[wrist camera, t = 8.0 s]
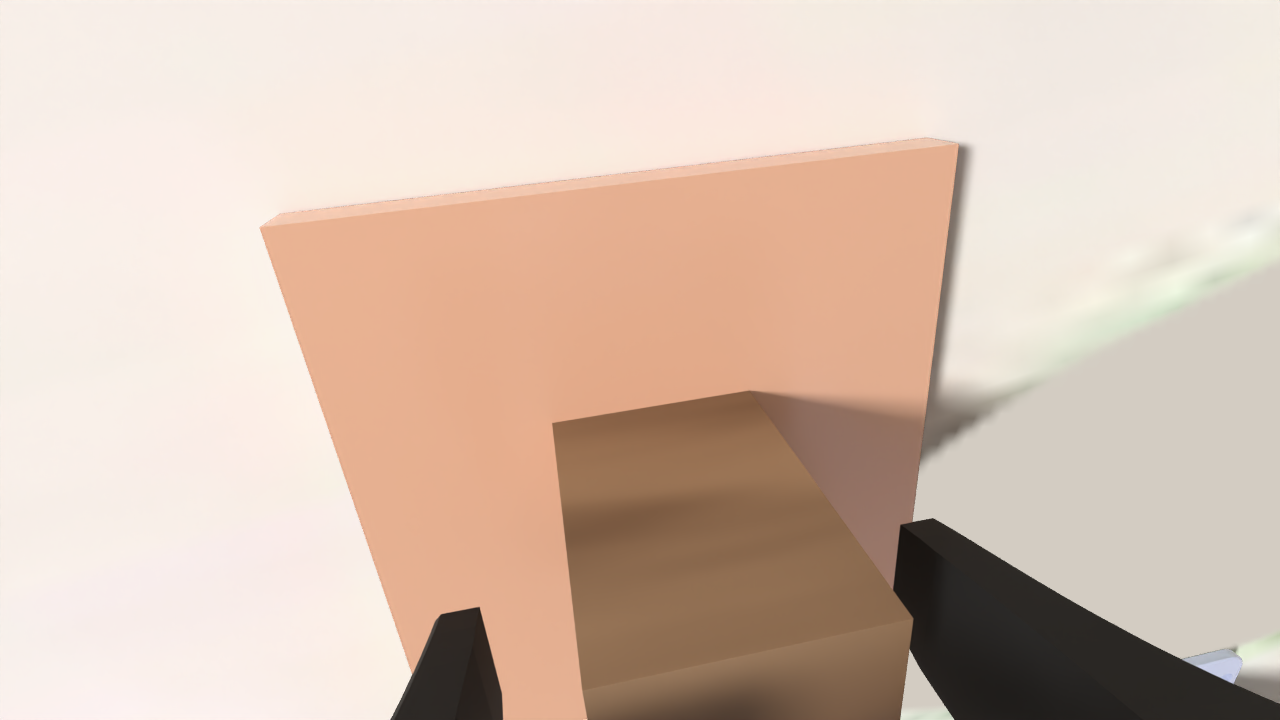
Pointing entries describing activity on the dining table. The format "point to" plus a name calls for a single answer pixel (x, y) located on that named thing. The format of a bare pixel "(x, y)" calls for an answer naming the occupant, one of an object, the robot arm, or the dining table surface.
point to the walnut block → (718, 574)
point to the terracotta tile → (609, 359)
